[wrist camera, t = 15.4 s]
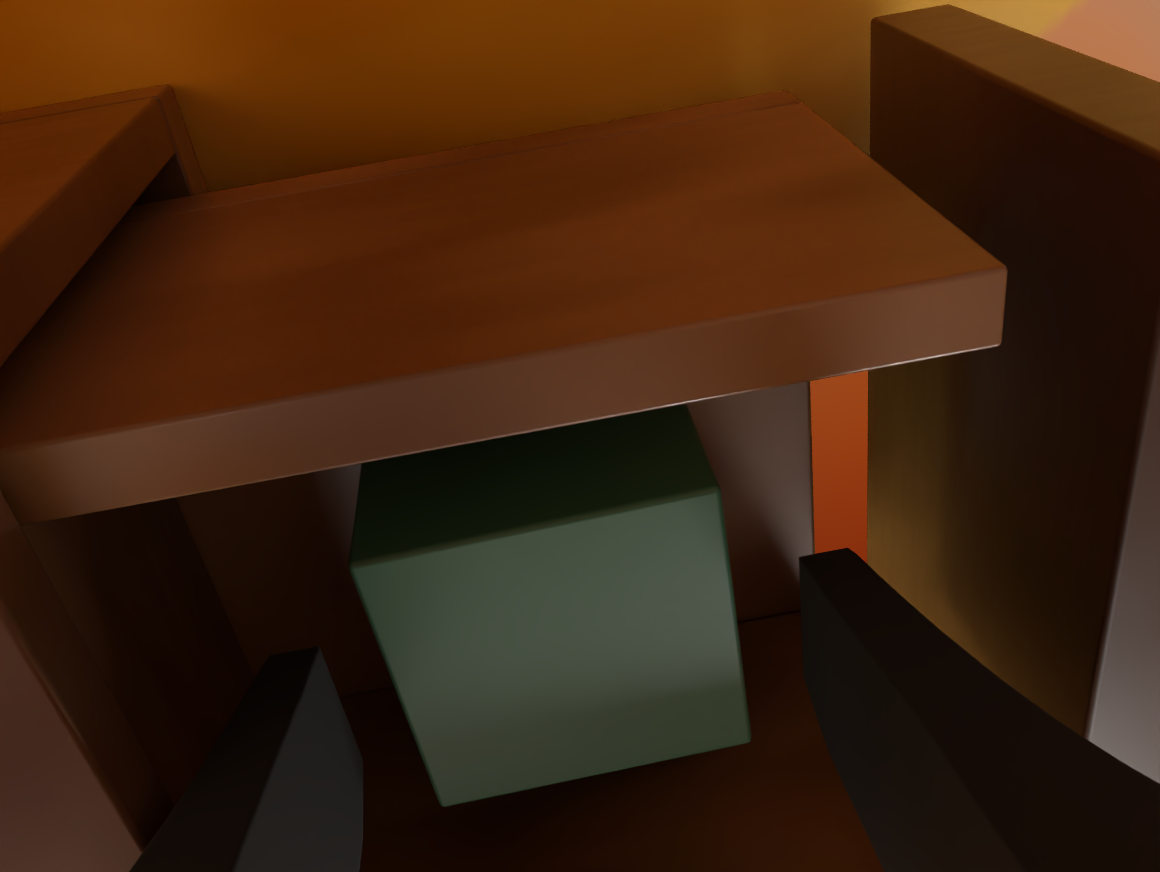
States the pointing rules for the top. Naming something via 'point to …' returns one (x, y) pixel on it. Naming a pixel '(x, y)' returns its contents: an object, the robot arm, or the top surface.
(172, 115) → the cabinet
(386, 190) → the drawer
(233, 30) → the top surface
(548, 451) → the block
